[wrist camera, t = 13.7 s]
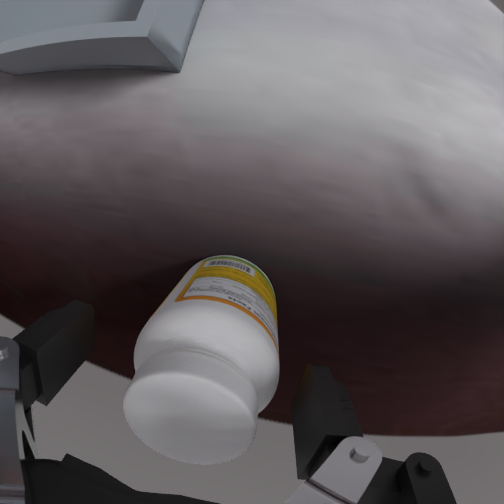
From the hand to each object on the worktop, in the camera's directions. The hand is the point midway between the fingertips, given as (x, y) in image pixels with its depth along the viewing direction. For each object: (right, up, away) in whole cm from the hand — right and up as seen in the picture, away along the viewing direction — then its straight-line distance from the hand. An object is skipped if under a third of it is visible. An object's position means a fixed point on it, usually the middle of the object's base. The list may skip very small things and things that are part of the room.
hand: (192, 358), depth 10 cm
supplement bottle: (+1, +1, +7) cm, 7 cm away
